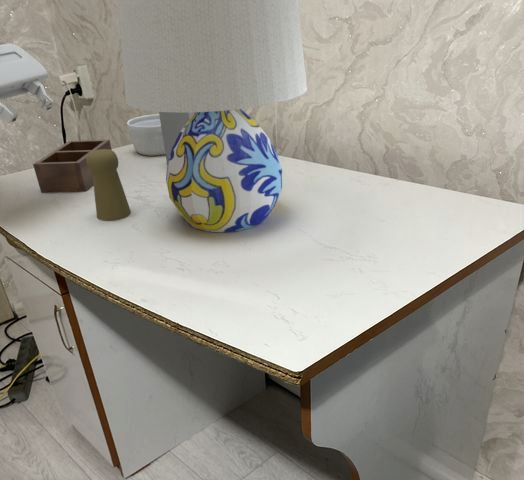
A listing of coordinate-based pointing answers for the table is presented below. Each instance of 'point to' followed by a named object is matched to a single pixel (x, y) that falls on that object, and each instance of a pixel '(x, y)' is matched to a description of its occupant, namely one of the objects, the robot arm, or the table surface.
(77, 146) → the wooden box
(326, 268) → the table surface
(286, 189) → the table surface
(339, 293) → the table surface
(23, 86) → the robot arm
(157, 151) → the ramekin
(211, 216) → the table lamp
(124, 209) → the cork
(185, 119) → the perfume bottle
